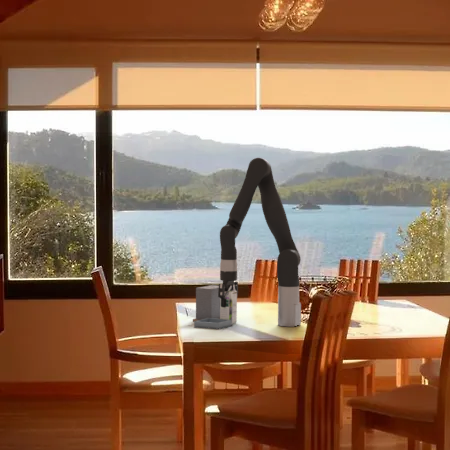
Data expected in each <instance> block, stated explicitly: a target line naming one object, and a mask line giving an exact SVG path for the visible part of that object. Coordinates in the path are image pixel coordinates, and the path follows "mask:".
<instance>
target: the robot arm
mask: <svg viewBox="0 0 450 450" xmlns="http://www.w3.org/2000/svg"><path fill="white" fill-rule="evenodd" d="M257 188H258V190H259V194H260V203H261V209H262V213H263V216H264V219H265V222H266V225H267V227H268V229H269V231H270V233H271V234H272V236H273V238H274V240H275V242H276V245H277V248H278V253H279V254H278V256H277V259H276V274H277V275H276V279H277V283H278V284H277V288H278V289H277V293H278V294H277V325H278V326H280V327H294V326H296V327H298V326H297V325H299V326H301V325H300V324H301V323H302V303H301V302H300V278H299V266H300V265H301V261H302V260H301V255H300V252H299V250H298V247H297V245H296V244H295V241H294V239H293V236H292V233H291V228H290V224H289V220H288V217H287V213H286V210H285V207H284V205H283V202H282V199H281V197H280V194H279V192H278V189H277V188H276V183H275V180H274V175H273V170H272V165H271V163H270V162H269V160H267V159H265V158H263V157H255V158H252V159H251V160H250V161H249V163H248V166H247V170H246V173H245V177H244V180H243V182H242V186H241V188H240V191H239V193H238V194H237V197H236V199H235V201H234V203H233V205H232V207H231V210H230V211H229V215H228V216H229V218H228V219H227V222H226V223H225V225H223V226H222V227H221V228H220V231H219V242H220V243H219V244H220V249H221V251H220V265H219V266H220V267H219V268H220V269H219V280H220V281H222V283H219V284H218V286H219V290H218V297H219V298H221V307H226V297H227V295H228V294H229V291H237V296H238V294H239V282H238V281H237V280H238V261H237V260H238V257H237V255H238V254H237V252H238V251H237V247H236V238H237V237H238V236H239V233H240V231H241V228H242V225H243V222H244V221H245V218H246V216H247V214H248V212H249V209H250V208H251V205H252V201H253V198H254V195H255V193H256V190H257ZM225 291H227V292H225ZM224 294H225V296H224Z"/></svg>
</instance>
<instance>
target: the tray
mask: <svg viewBox="0 0 450 450" xmlns="http://www.w3.org/2000/svg"><path fill="white" fill-rule="evenodd" d="M193 322H194V328H198V329H199V328H200V329H201V328H203V329H212V330H221V329H222V330H223V329H224V328H229V327H232V326H233V324H232V320H228V319H216V318H206V319H202V320H198V321H193Z"/></svg>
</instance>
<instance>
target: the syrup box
mask: <svg viewBox="0 0 450 450" xmlns="http://www.w3.org/2000/svg"><path fill="white" fill-rule="evenodd" d="M225 292H227V291H225ZM224 296H225V294H224ZM237 305H238V295H237V291H229V294H228V295H227V297H226V307H221V298H220V319H228V320H232V325H233V324H236V323H238V322H237V321H238V320H237V318H238V317H237V316H238V311H237V310H238V309H237V307H238V306H237Z"/></svg>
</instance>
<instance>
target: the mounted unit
mask: <svg viewBox="0 0 450 450" xmlns="http://www.w3.org/2000/svg"><path fill="white" fill-rule="evenodd" d="M218 290H219V285H215V284H214V285H211V284H209V285H205V286H200V287H195V318H193V319H192V322H194V321H198V320H202V319H206V318H216V319H220V298H219V297H218Z"/></svg>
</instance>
